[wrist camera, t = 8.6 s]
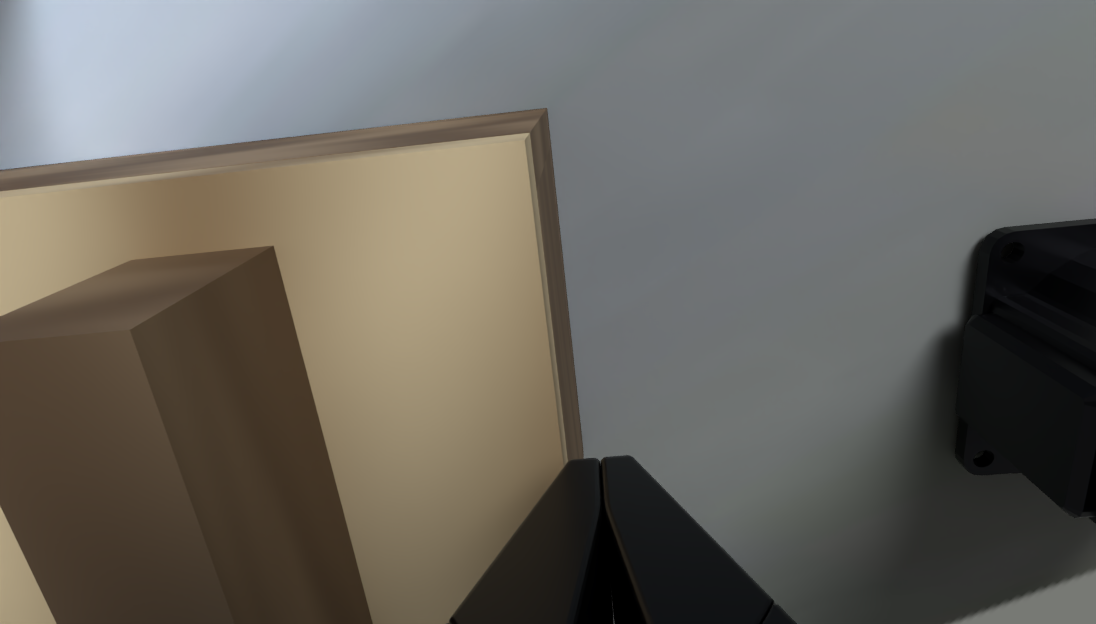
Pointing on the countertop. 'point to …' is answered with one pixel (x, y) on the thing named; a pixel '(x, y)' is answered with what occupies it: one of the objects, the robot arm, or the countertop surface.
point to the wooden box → (366, 141)
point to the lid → (274, 388)
